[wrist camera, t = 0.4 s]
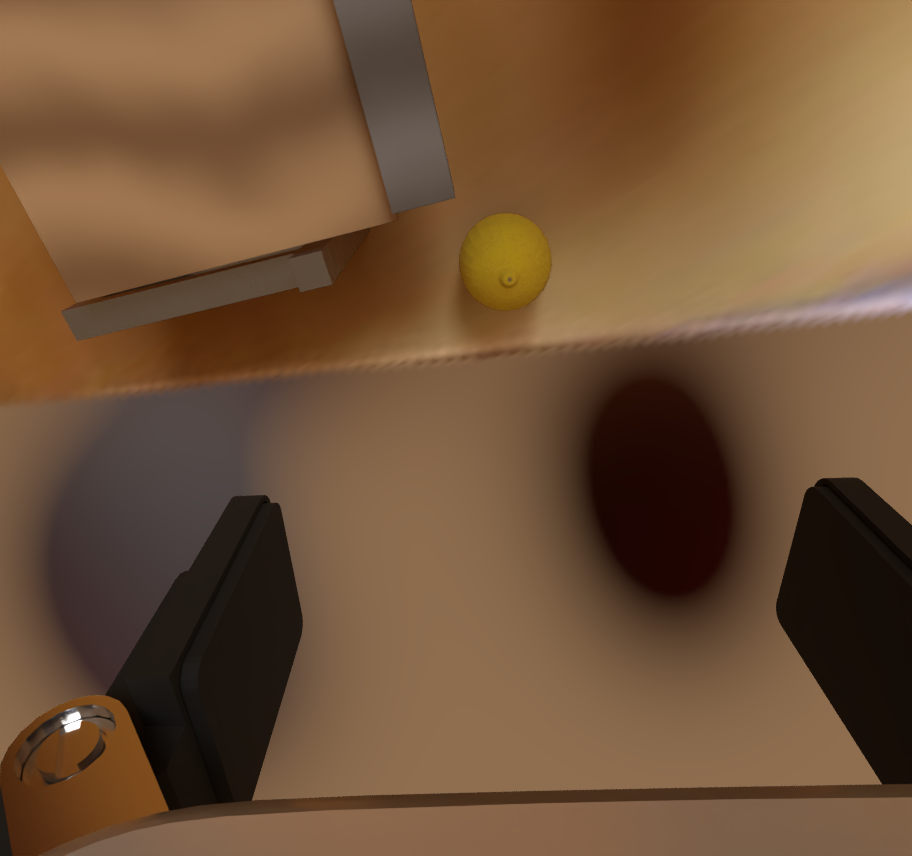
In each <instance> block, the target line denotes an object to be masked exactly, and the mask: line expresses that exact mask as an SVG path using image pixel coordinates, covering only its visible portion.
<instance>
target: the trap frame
mask: <svg viewBox="0 0 912 856" xmlns="http://www.w3.org/2000/svg"><path fill="white" fill-rule="evenodd" d="M368 233H369V229H368V228H366V229H362V230H358V231H354V232H350V233H346V234H342V235H339V236H335V237H331V238H327V239H323V240H319V241H315V242H311V243H307V244H304V245H300V246H296V247H292V248H288V249H284V250H280V251H276V252H272V253H268V254H265V255H261V256H257V257H253V258H249V259H245V260H241V261H237V262H233V263H230V264H226V265H222V266H218V267H214V268H210V269H206V270H202V271H198V272H194V273H191V274H187V275H183V276H179V277H175V278H171V279H167V280H163V281H159V282H156V283H152V284H148V285H144V286H140V287H136V288H132V289H128V290H124V291H121V292H117V293H113V294H109V295H105V296H101V297H97V298H93V299H89V300H85V301H82V302H78V303H76V304H74V305H72V306H70V307H69V308H67V309H65V310H63V311H61V313H62V314H63V316H64V318H65V320H66V321H67V323H68V325H69V327H70V329H71V330H72V332H73V334H74V336H75V338H76V339H77V341H79V340H83V339H87V338H91V337H95V336H100V335H104V334H108V333H112V332H116V331H120V330H124V329H128V328H133V327H137V326H141V325H145V324H149V323H153V322H157V321H161V320H166V319H170V318H174V317H178V316H182V315H186V314H190V313H194V312H199V311H203V310H207V309H211V308H215V307H219V306H223V305H227V304H232V303H236V302H240V301H244V300H248V299H252V298H256V297H260V296H265V295H269V294H273V293H277V292H281V291H285V290H289V289H293V288H298V287H299V290H300V292H304V291H308V290H312V289H316V288H320V287H324V286H329V285H332V284H333V283H334V282H335V280H336V279H337V277H338V276H339V274H340V273H341V272H342V270H343V269H344V267H345V266H346V264H347V263H348V262H349V260H350V259H351V257H352V256H353V254H354V253H355V252H356V250H357V249H358V247H359V246H360V244H361V243H362V242H363V240H364V239H365V237H366V236H367V234H368Z"/></svg>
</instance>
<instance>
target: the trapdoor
mask: <svg viewBox="0 0 912 856" xmlns="http://www.w3.org/2000/svg"><path fill="white" fill-rule="evenodd" d="M0 165H1V166H2V168H3V170H4V172H5V174H6V176H7V177H8V179H9V181H10V183H11V185H12V187H13V188H14V190H15V192H16V194H17V196H18V198H19V199H20V201H21V203H22V205H23V207H24V209H25V210H26V212H27V214H28V216H29V218H30V220H31V221H32V223H33V225H34V227H35V229H36V231H37V232H38V234H39V236H40V238H41V240H42V242H43V243H44V245H45V247H46V249H47V251H48V253H49V254H50V256H51V258H52V260H53V262H54V264H55V265H56V267H57V269H58V271H59V273H60V275H61V276H62V278H63V280H64V282H65V284H66V286H67V287H68V289H69V291H70V293H71V295H72V297H73V298H74V300H75V302H76V303H78V302H82V301H85V300H89V299H93V298H97V297H101V296H105V295H109V294H113V293H117V292H121V291H124V290H128V289H132V288H136V287H140V286H144V285H148V284H152V283H156V282H159V281H163V280H167V279H171V278H175V277H179V276H183V275H187V274H191V273H194V272H198V271H202V270H206V269H210V268H214V267H218V266H222V265H226V264H230V263H233V262H237V261H241V260H245V259H249V258H253V257H257V256H261V255H265V254H268V253H272V252H276V251H280V250H284V249H288V248H292V247H296V246H300V245H304V244H307V243H311V242H315V241H319V240H323V239H327V238H331V237H335V236H339V235H342V234H346V233H350V232H354V231H358V230H362V229H366V228H370V227H374V226H378V225H381V224H385V223H389V222H393V221H397V220H398V218H399V217H398V213H399V212H402V211H406V210H410V209H414V208H418V207H422V206H426V205H430V204H433V203H437V202H441V201H445V200H449V199H453V198H455V193H454V187H453V182H452V178H451V174H450V169H449V165H448V160H447V156H446V152H445V147H444V143H443V138H442V134H441V130H440V125H439V121H438V116H437V112H436V107H435V103H434V99H433V94H432V90H431V85H430V81H429V77H428V72H427V68H426V63H425V59H424V55H423V50H422V46H421V41H420V37H419V33H418V28H417V24H416V19H415V15H414V11H413V6H412V2H411V0H0Z"/></svg>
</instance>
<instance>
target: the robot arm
mask: <svg viewBox="0 0 912 856" xmlns="http://www.w3.org/2000/svg"><path fill="white" fill-rule="evenodd" d="M776 611H777V617H778V620H779V622H780V624H781V626H782V627H783V629H784V631H785V632H786V634H787V635H788V637H789V638H790V640H791V642H792V643H793V645H794V646H795V648H796V649H797V651H798V653H799V654H800V656H801V657H802V659H803V660H804V662H805V664H806V665H807V667H808V668H809V670H810V671H811V673H812V675H813V676H814V678H815V679H816V681H817V682H818V684H819V685H820V687H821V689H822V690H823V692H824V693H825V695H826V697H827V698H828V700H829V701H830V703H831V704H832V706H833V708H834V709H835V711H836V712H837V714H838V715H839V717H840V718H841V720H842V722H843V723H844V725H845V726H846V728H847V730H848V731H849V733H850V734H851V736H852V737H853V739H854V741H855V742H856V744H857V745H858V747H859V748H860V750H861V752H862V753H863V755H864V756H865V758H866V759H867V761H868V762H869V764H870V766H871V767H872V769H873V770H874V772H875V774H876V775H877V777H878V778H879V780H880V781H881V783H882V785H822V786H821V785H817V786H753V787H706V788H705V787H699V788H649V789H604V790H559V791H557V790H556V791H520V792H519V791H518V792H517V791H516V792H477V793H440V794H407V795H406V794H404V795H403V794H402V795H365V796H342V797H319V798H298V799H274V800H254V801H252V798H253V795H254V791H255V788H256V785H257V781H258V778H259V775H260V771H261V768H262V764H263V761H264V758H265V755H266V751H267V748H268V745H269V741H270V738H271V735H272V731H273V728H274V725H275V721H276V718H277V714H278V711H279V708H280V705H281V701H282V698H283V695H284V692H285V688H286V685H287V681H288V678H289V675H290V672H291V668H292V665H293V661H294V658H295V655H296V651H297V648H298V644H299V641H300V638H301V634H302V625H303V624H302V623H303V620H302V612H301V607H300V602H299V597H298V592H297V587H296V582H295V577H294V572H293V567H292V562H291V557H290V552H289V547H288V542H287V537H286V532H285V527H284V522H283V517H282V512H281V508H280V505H279V504H278V503H270V500H269V498H268V497H267V496H266V495H257V496H235V497H233V498H232V499H231V500H230V502H229V504H228V505H227V507H226V509H225V510H224V512H223V514H222V515H221V517H220V519H219V521H218V522H217V524H216V525H215V528H214V529H213V531H212V532H211V534H210V536H209V537H208V539H207V541H206V542H205V544H204V546H203V547H202V550H201V551H200V553H199V554H198V556H197V558H196V559H195V561H194V563H193V564H192V566H191V568H190V569H189V571H185V572H183V573H181V574H180V575H179V576H178V577H177V579H176V580H175V581H174V583H173V585H172V587H171V588H170V590H169V591H168V593H167V595H166V596H165V598H164V600H163V601H162V603H161V605H160V606H159V608H158V609H157V611H156V613H155V614H154V616H153V618H152V619H151V621H150V622H149V624H148V626H147V627H146V629H145V631H144V632H143V634H142V636H141V637H140V639H139V640H138V642H137V644H136V646H135V647H134V649H133V650H132V652H131V654H130V655H129V657H128V659H127V660H126V662H125V664H124V665H123V667H122V668H121V670H120V672H119V673H118V675H117V677H116V679H115V680H114V682H113V684H112V685H111V686H110V688H109V690H108V691H107V693H106V695H105V696H96V695H91V696H86V697H81V698H77V699H73V700H70V701H68V702H65V703H63V704H61V705H58V706H56V707H54V708H52V709H51V710H49V711H47V712H46V713H44V714H43V715H41V716H39V717H38V718H36V719H35V720H34V721H33V722H32V723H31V724H29V725H28V726H27V727H26V728H25V729H24V730H22V731H21V732H20V733H19V735H18V736H17V737H16V739H15V740H14V741H13V742H12V743H11V745H10V746H9V747H8V749H7V751H6V753H5V755H4V758H3V760H2V762H1V764H0V856H912V525H911V524H910V523H909V522H908V521H906V520H905V519H904V518H903V517H902V516H901V515H900V514H898V512H896V511H895V510H894V509H893V508H892V507H891V506H890V505H889V504H888V503H886V502H885V501H884V500H883V499H882V498H881V497H880V496H879V495H877V494H876V493H875V492H874V491H873V490H872V489H871V488H870V487H869V486H867V485H866V484H865V483H864V482H863V481H862V480H860V479H859V478H823V479H820V480H819V481H817V483H816V484H815V486H814V487H810V488H809V489H807V491H806V493H805V495H804V499H803V503H802V507H801V511H800V515H799V518H798V522H797V526H796V530H795V534H794V538H793V542H792V546H791V549H790V553H789V557H788V560H787V564H786V568H785V572H784V576H783V580H782V584H781V587H780V591H779V595H778V599H777V604H776Z"/></svg>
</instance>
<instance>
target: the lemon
mask: <svg viewBox="0 0 912 856" xmlns="http://www.w3.org/2000/svg"><path fill="white" fill-rule="evenodd" d="M551 266H552V263H551V251H550V248H549V245H548V241H547V239H546V237H545V236H544V234H543V233H542V231H541V229H540V228H539V227H537V226H536V225H535V224H534V223H533V222H532V221H531V220H529V219H527V218H525V217H523V216H521V215H517V214H512V213H499V214H495V215H492V216H489V217H486V218H485V219H483V220H481V221H480V222H478V223H477V224H476V225H475V226H474V227H473V228H472V229H471V230H470V231H469V232H468V234H467V236H466V238H465V240H464V242H463V244H462V247H461V251H460V255H459V269H460V273H461V277H462V280H463V282H464V284H465V286H466V288H467V290H468V292H469V293H470V294H471V295H472V296H473V297H474V298H475V299H476V300H477V301H478V302H480V303H482V304H483V305H485V306H486V307H489V308H492V309H495V310H503V311H509V310H515V309H519V308H521V307H524V306H526V305H528V304H529V303H530V302H532V301H533V300H534V299H536V298H537V297H538V295H539V294H540V293H541V292H542V291H543V289H544V287H545V285H546V283H547V281H548V279H549V275H550V271H551Z"/></svg>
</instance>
